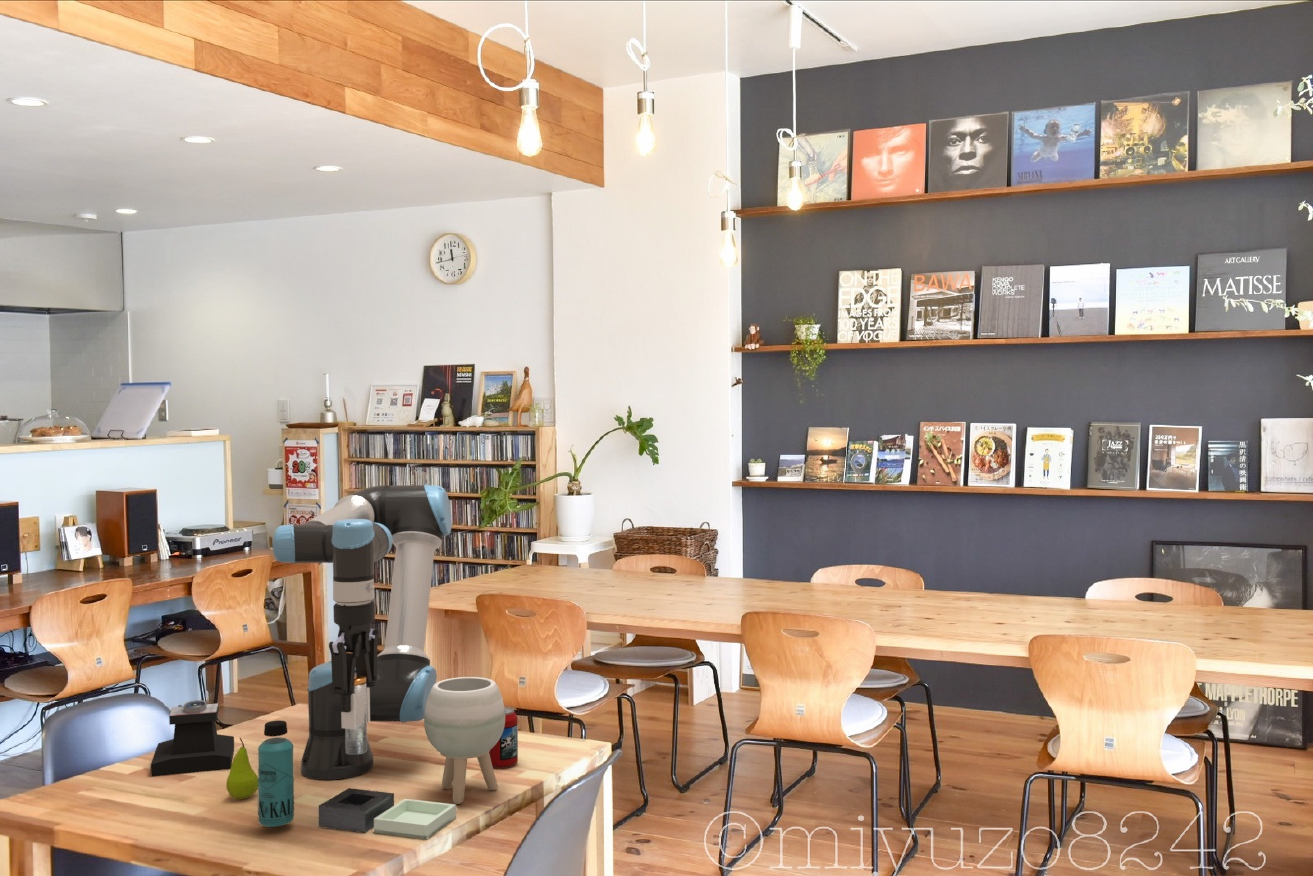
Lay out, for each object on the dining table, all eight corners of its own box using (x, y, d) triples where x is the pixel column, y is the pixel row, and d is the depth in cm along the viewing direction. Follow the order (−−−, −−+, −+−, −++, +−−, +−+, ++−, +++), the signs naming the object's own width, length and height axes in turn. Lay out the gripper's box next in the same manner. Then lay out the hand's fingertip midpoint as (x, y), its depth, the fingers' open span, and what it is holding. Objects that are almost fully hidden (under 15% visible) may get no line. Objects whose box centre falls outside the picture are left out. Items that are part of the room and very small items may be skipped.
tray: (374, 832, 205) (373, 818, 205) (405, 812, 216) (404, 798, 215) (427, 839, 202) (426, 825, 202) (456, 818, 212) (456, 804, 212)
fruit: (245, 804, 220) (244, 744, 220) (219, 801, 222) (218, 742, 222) (265, 794, 226) (264, 735, 226) (239, 791, 228) (239, 733, 228)
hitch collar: (318, 827, 208) (318, 805, 208) (349, 808, 218) (348, 788, 217) (365, 833, 205) (365, 811, 205) (394, 814, 215) (393, 793, 214)
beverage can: (512, 770, 240) (511, 715, 239) (482, 768, 241) (481, 713, 241) (522, 760, 246) (521, 706, 246) (493, 759, 248) (492, 705, 247)
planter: (519, 785, 230) (518, 677, 230) (482, 812, 215) (481, 697, 215) (450, 777, 236) (449, 672, 235) (409, 803, 220) (408, 690, 220)
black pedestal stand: (149, 716, 236) (158, 692, 250) (151, 782, 237) (160, 754, 252) (229, 710, 240) (233, 687, 255) (230, 774, 242) (235, 747, 256)
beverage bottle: (263, 822, 210) (261, 717, 210) (299, 821, 211) (297, 716, 210) (253, 836, 204) (251, 727, 203) (290, 834, 204) (289, 726, 204)
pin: (341, 753, 210) (340, 680, 209) (353, 747, 214) (352, 675, 213) (359, 755, 209) (358, 681, 208) (371, 749, 212) (370, 676, 212)
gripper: (345, 611, 201) (347, 739, 202) (395, 595, 217) (397, 714, 218) (309, 609, 203) (312, 736, 204) (361, 593, 219) (363, 711, 220)
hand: (356, 724), depth 211 cm, fingers closed on pin, 4 cm apart
